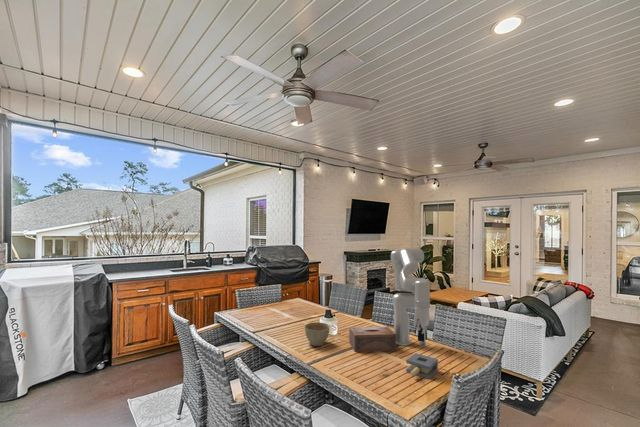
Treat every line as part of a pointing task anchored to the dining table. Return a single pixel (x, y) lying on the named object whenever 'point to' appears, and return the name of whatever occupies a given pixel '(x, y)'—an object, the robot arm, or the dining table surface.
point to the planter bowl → (317, 333)
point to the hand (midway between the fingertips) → (422, 339)
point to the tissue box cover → (372, 339)
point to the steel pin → (424, 339)
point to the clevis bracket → (422, 365)
